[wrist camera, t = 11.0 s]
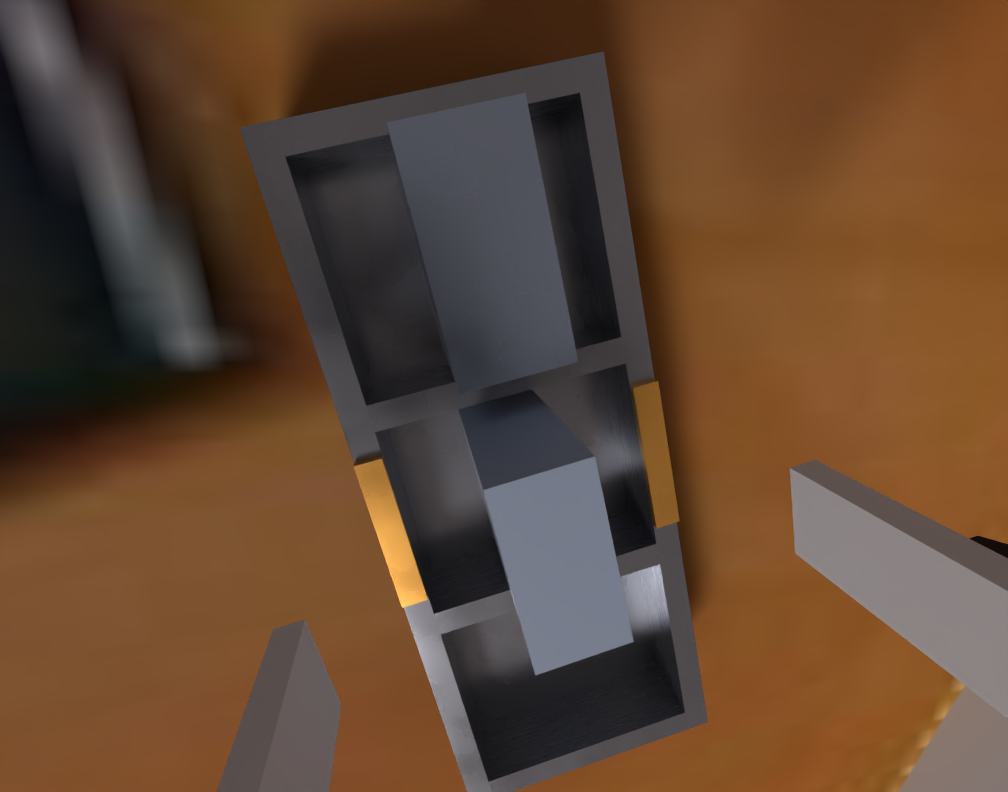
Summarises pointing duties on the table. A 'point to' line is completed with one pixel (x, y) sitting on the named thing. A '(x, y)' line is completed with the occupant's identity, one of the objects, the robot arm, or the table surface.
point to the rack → (491, 384)
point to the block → (548, 529)
